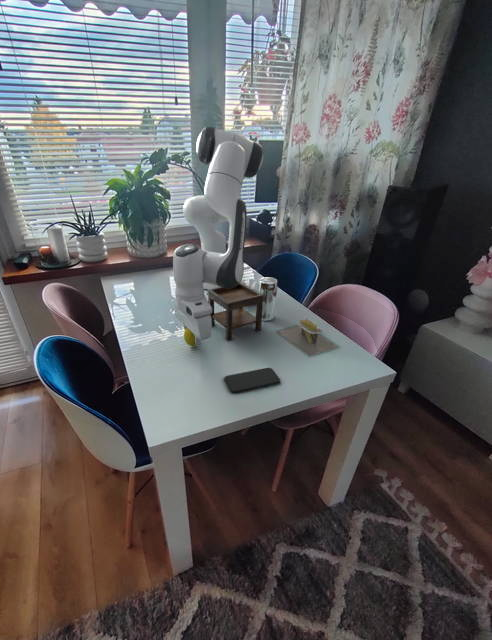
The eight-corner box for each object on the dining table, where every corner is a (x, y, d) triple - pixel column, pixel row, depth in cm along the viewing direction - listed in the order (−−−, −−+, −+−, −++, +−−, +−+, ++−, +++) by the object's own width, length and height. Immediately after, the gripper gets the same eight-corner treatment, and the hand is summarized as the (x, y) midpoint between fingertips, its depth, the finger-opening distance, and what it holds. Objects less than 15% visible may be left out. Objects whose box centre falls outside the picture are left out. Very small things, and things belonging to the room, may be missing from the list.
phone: (223, 376, 94) (270, 366, 97) (223, 378, 94) (270, 369, 98) (231, 391, 88) (281, 381, 91) (231, 394, 88) (281, 383, 92)
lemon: (194, 340, 112) (192, 319, 108) (204, 346, 109) (203, 325, 105) (181, 346, 109) (179, 325, 105) (192, 352, 106) (190, 331, 101)
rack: (208, 324, 122) (207, 289, 114) (240, 316, 128) (241, 282, 120) (228, 340, 112) (228, 303, 104) (261, 330, 118) (263, 294, 110)
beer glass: (273, 322, 123) (277, 284, 115) (255, 320, 125) (257, 283, 116) (275, 314, 129) (278, 277, 121) (257, 312, 130) (259, 276, 122)
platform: (309, 356, 104) (312, 338, 100) (277, 331, 117) (279, 315, 113) (338, 347, 108) (342, 329, 105) (303, 324, 122) (306, 308, 118)
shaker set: (235, 309, 133) (235, 283, 127) (230, 305, 137) (230, 279, 130) (260, 304, 137) (262, 278, 131) (255, 300, 141) (257, 275, 134)
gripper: (167, 291, 106) (171, 328, 114) (195, 315, 91) (198, 356, 99) (185, 287, 109) (188, 324, 116) (215, 310, 94) (215, 350, 102)
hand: (192, 339), depth 108 cm, fingers closed on lemon, 5 cm apart
